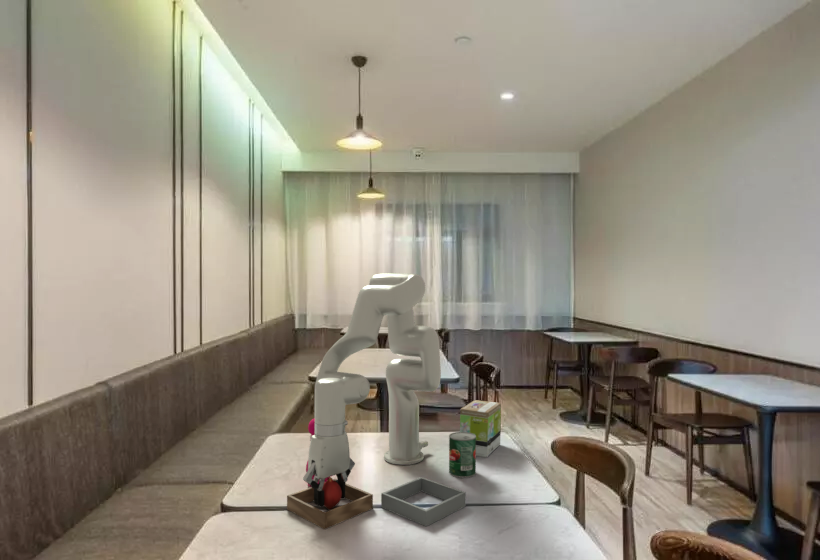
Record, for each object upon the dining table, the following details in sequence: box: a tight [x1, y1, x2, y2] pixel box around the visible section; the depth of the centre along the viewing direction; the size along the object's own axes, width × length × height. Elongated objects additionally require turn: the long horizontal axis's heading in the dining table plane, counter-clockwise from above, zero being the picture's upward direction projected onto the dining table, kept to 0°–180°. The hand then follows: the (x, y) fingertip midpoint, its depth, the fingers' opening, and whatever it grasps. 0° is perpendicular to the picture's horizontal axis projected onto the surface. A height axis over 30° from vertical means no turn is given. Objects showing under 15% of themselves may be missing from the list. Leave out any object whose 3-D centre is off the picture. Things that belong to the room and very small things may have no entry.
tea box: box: [459, 399, 502, 458], centre depth 179 cm, size 15×10×15 cm, turn 155°
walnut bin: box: [286, 478, 374, 530], centre depth 133 cm, size 15×15×4 cm
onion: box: [322, 476, 342, 511], centre depth 133 cm, size 6×6×8 cm
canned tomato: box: [448, 431, 477, 479], centre depth 158 cm, size 8×8×11 cm
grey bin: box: [380, 476, 467, 527], centre depth 135 cm, size 15×15×4 cm
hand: (329, 500), depth 133 cm, fingers closed on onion, 5 cm apart
